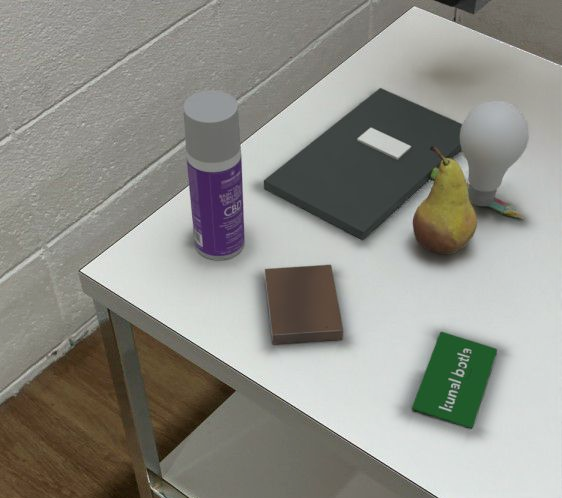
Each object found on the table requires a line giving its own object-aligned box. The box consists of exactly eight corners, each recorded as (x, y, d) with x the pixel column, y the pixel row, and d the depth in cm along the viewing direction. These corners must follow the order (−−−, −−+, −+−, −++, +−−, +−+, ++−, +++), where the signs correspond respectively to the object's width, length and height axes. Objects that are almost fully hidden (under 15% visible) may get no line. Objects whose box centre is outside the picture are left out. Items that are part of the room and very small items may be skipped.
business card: (496, 351, 80) (439, 333, 81) (497, 349, 80) (440, 331, 80) (471, 429, 75) (411, 409, 76) (472, 427, 74) (411, 407, 75)
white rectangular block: (370, 129, 97) (370, 127, 97) (411, 148, 95) (411, 146, 95) (357, 140, 96) (357, 138, 96) (397, 160, 94) (397, 157, 94)
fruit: (466, 271, 86) (489, 165, 76) (404, 259, 87) (419, 153, 77) (475, 231, 89) (498, 124, 80) (415, 220, 90) (431, 113, 81)
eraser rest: (330, 273, 86) (331, 264, 85) (342, 339, 80) (343, 330, 80) (264, 278, 85) (264, 268, 84) (272, 344, 80) (272, 335, 79)
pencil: (527, 219, 90) (376, 143, 98) (529, 210, 90) (377, 134, 97) (520, 226, 90) (368, 149, 97) (522, 217, 89) (369, 140, 96)
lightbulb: (493, 177, 94) (514, 81, 86) (523, 216, 90) (548, 119, 82) (437, 191, 93) (453, 95, 84) (465, 231, 89) (485, 134, 81)
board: (379, 95, 103) (380, 87, 102) (474, 137, 98) (475, 129, 97) (263, 188, 93) (263, 180, 92) (362, 240, 88) (363, 232, 88)
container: (234, 265, 86) (227, 128, 75) (186, 253, 87) (172, 116, 76) (251, 232, 89) (247, 95, 77) (205, 221, 90) (194, 84, 78)
